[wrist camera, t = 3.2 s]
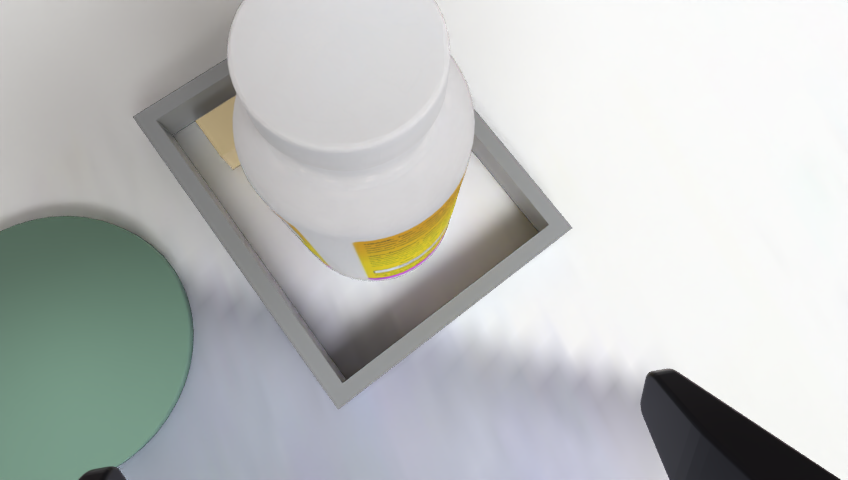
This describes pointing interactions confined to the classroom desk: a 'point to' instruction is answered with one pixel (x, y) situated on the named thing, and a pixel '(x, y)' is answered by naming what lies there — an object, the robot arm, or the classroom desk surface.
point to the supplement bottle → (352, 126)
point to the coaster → (85, 346)
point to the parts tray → (219, 130)
